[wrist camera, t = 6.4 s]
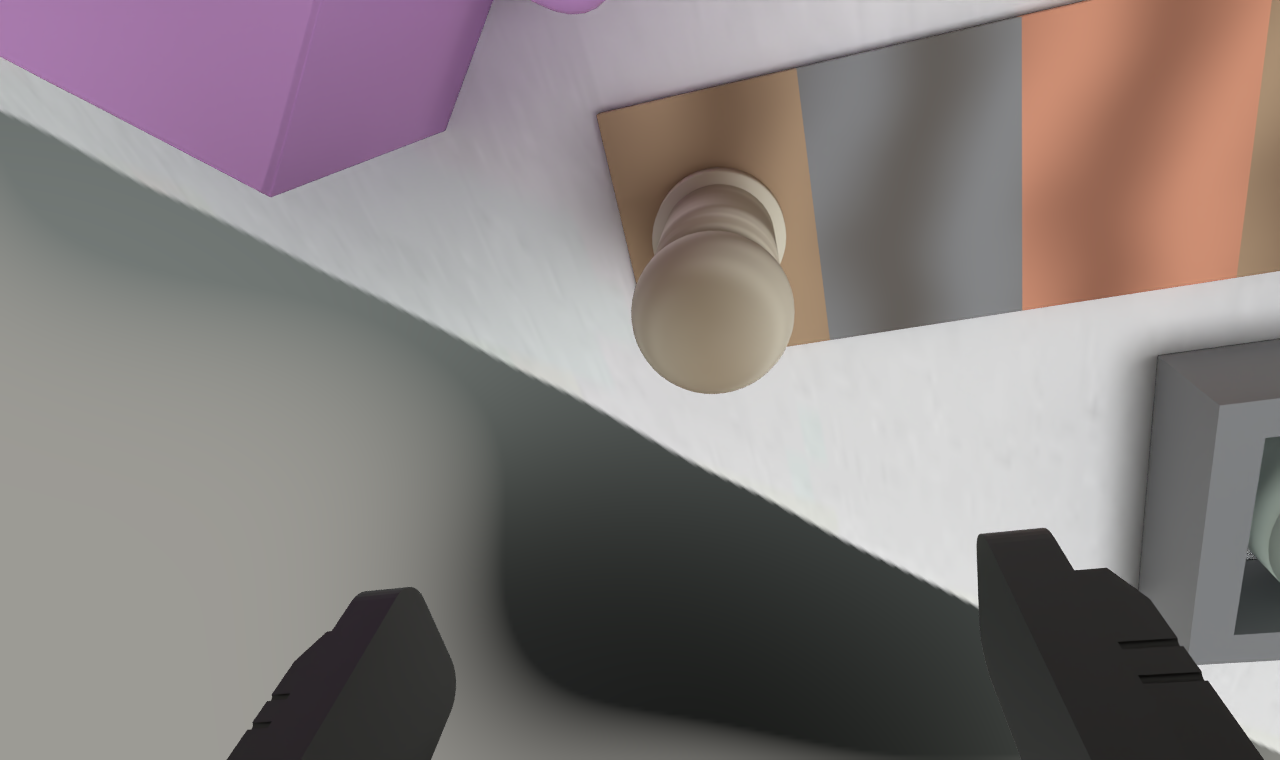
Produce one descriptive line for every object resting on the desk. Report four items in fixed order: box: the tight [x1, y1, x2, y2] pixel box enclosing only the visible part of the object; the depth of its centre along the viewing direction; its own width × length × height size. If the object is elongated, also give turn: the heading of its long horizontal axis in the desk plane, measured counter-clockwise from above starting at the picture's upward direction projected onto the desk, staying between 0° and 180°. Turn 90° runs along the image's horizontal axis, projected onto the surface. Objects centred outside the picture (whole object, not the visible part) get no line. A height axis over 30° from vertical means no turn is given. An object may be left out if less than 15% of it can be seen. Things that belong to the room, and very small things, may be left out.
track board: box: [597, 0, 1280, 347], centre depth 25 cm, size 28×10×1 cm, turn 103°
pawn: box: [631, 167, 795, 394], centre depth 22 cm, size 5×5×10 cm
